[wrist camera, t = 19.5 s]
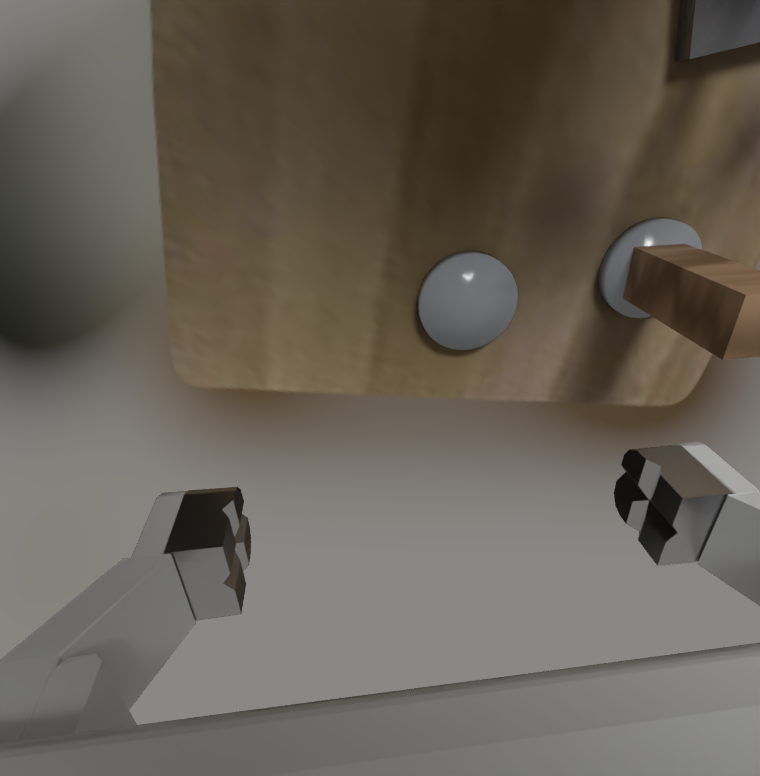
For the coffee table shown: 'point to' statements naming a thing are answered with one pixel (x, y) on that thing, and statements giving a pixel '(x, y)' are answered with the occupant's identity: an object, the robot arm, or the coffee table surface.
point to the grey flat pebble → (621, 254)
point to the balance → (716, 26)
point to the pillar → (698, 297)
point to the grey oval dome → (467, 300)
